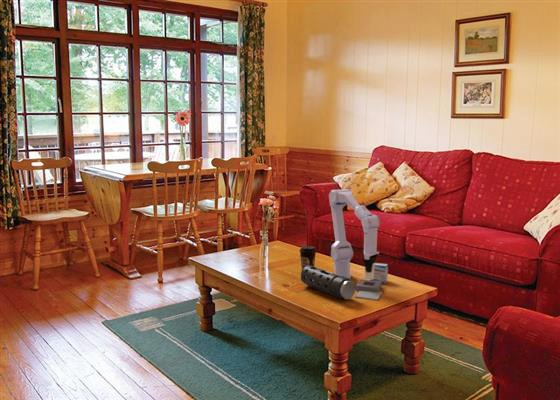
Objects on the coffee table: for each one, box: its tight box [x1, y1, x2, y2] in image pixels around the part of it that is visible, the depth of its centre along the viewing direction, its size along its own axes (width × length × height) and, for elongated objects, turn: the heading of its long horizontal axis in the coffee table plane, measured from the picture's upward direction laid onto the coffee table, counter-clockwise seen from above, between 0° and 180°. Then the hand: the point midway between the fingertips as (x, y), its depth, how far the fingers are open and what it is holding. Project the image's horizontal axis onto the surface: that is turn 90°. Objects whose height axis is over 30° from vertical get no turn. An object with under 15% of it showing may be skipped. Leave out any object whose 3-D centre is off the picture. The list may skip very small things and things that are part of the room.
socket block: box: [355, 279, 383, 292], centre depth 253 cm, size 10×10×2 cm
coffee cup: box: [299, 245, 317, 272], centre depth 279 cm, size 9×8×13 cm
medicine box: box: [371, 262, 389, 284], centre depth 264 cm, size 8×4×9 cm, turn 70°
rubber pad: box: [354, 290, 383, 301], centre depth 244 cm, size 10×10×1 cm
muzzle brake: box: [300, 265, 356, 301], centre depth 246 cm, size 10×28×10 cm, turn 36°
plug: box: [364, 262, 376, 280], centre depth 249 cm, size 4×4×8 cm
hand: (369, 271), depth 249 cm, fingers closed on plug, 4 cm apart
